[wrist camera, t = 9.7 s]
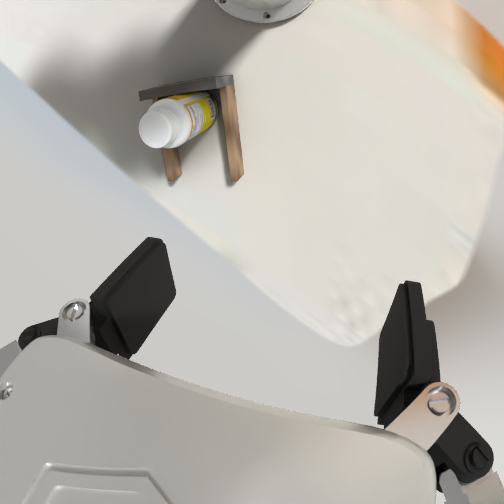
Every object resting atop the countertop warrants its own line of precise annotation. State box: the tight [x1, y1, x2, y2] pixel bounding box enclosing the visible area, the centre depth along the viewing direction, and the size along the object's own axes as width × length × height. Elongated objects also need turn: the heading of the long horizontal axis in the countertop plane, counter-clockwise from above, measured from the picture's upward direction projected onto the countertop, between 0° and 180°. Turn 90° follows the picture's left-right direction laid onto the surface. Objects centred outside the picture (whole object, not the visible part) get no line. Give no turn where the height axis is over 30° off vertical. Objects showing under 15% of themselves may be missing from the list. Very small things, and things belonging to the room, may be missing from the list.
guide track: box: [139, 75, 244, 181], centre depth 34 cm, size 13×10×5 cm
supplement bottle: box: [139, 90, 218, 148], centre depth 31 cm, size 6×6×10 cm
